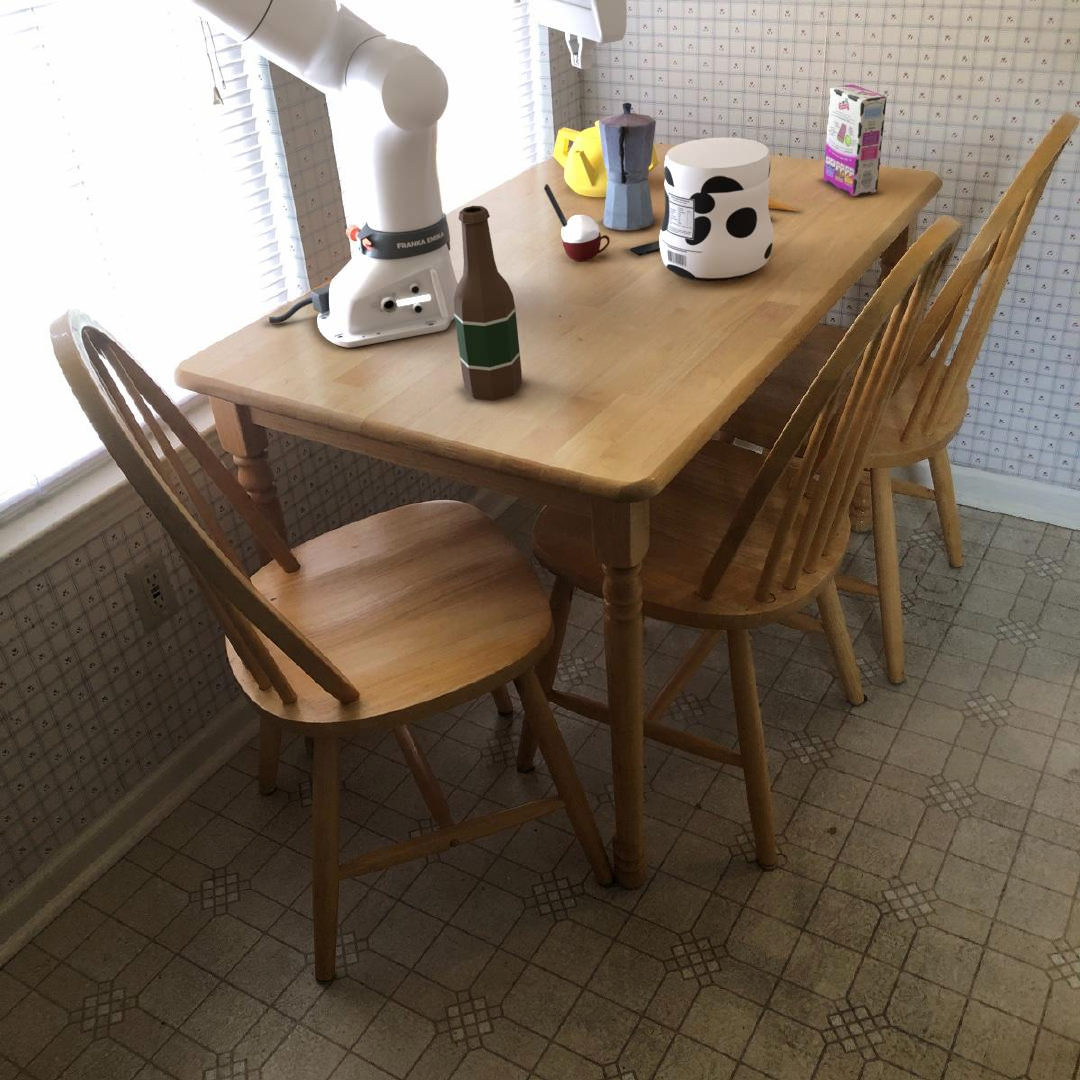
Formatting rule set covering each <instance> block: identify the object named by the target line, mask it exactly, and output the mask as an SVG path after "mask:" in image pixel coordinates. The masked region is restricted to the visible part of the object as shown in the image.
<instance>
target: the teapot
mask: <svg viewBox="0 0 1080 1080" xmlns="http://www.w3.org/2000/svg"><path fill="white" fill-rule="evenodd" d="M600 120H601V119H599V120H596V121H595V122H594V124H595V126H591V127H588V128H585V129H583V130H581V131H579V130H575V129H571V128H568V127H565V126H564V127H561V128H559V130H558V131H557V136H556V141H555V144H554V150H553V154H552V157H553V158H554V159H555V160H556V161H557V162H558V163H559V164H560V165H561V166H562V167H563V168H564V180H565V182H566V184H567V185H568V187H569V188H570V189H571V190H572V191H573V192H574V193H576V194H578V195H581V196H585V197H591V198H606V192H607V183H608V178H607V169H606V167H605V165H604V159H603V152H602V145H601V138H600V131H599V125H598V122H599V121H600ZM570 141H571V142H573V144H572V145H571V148H570V150H568V148H569V143H570ZM659 164H660V162H659V159H658V156H657V152H656V149H655V144H653V152H652V162H651V166H650V167H649V173H651V171H653V170H654V169H655V168H656V167H657V166H658V165H659Z"/></svg>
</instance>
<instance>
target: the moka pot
mask: <svg viewBox="0 0 1080 1080" xmlns="http://www.w3.org/2000/svg"><path fill="white" fill-rule="evenodd" d="M631 110H632V103H630V102H624V103H622V111H623V113H618V114H612V115H609V116H606V117H604V118H602V119H599V120H600V121H599V120H598V121H599V122H598V125H599V131H600V138H601V145H602V152H603V159H604V165H605V167H606V169H607V178H608V183H607V192H606V197H605V201H604V202H605V203H604V210H603V211H604V213H603V222H602V224H603V226H604V227H606V228H607V229H611V230H617V231H627V232H628V231H636V230H641V229H644V228H648V227H650V226H652V225H653V224H654V223H655V220H654V219H655V218H654V217H655V216H654V210H653V202H652V195H651V187H650V180H649V175H650V172H649V167H650V166H651V162H652V152H653V145H654V143H655V142H654V141H655V134H656V125H657V121H656V119H655V118H653V117H651V116H650V115H647V114H641V113H637V112H631Z"/></svg>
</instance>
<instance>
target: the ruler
mask: <svg viewBox="0 0 1080 1080" xmlns="http://www.w3.org/2000/svg"><path fill="white" fill-rule="evenodd" d="M770 219H771V221H772V217H770ZM629 251H630V252H632V253H634V254H636V255H637V256H639V257H640V256H645V255H649V254H652V253H656V252H660V242H659V240H656V241H652V242H649V243H645V244H642V245H641V244H640V245H637V246H634V247H630V248H629Z"/></svg>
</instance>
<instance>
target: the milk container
mask: <svg viewBox="0 0 1080 1080" xmlns="http://www.w3.org/2000/svg"><path fill="white" fill-rule="evenodd" d="M770 153H771V152H770V149H769V148H768V147H767V146H766V144H765V143H762V142H759V141H757V140H752V139H749V138H747V139H746V138H742V137H727V136H723V137H707V138H706V137H705V138H701V139H699V138H698V139H693V140H689V141H685V142H682V143H679V144H677V145H675V146H672V147H670V148H669V149H668V151H667V152H666V153H665V157H664V159H665V160H664V170H663V172H664V173H663V174H664V182H663V183H664V185H663V187H664V188H663V190H664V213H663V214H664V215H663V219H662V224H661V227H660V232H659V237H658V238H659V240H658V241H659V242H660V251H659V252H660V256H661V260H662V262H663V265H664V266H665V267H666V269H668V270H669V271H670V272H672V273H673V274H674V275H676V276H678V277H681V278H685V279H687V280H692V281H699V282H728V281H733V280H739V279H743V278H745V277H748V276H751V275H754V274H755V273H757V272H759V271H760V270H761V269H762V268H764V267H765V266H766V265H767V263H768V262H769V259H770V258H771V254H772V250H773V244H774V228H773V224H772V220H771V219H772V218H771V215H770V209H769V208H768V198H770V185H771V184H770V182H771V179H770V173H771V154H770ZM770 218H771V219H770Z"/></svg>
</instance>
